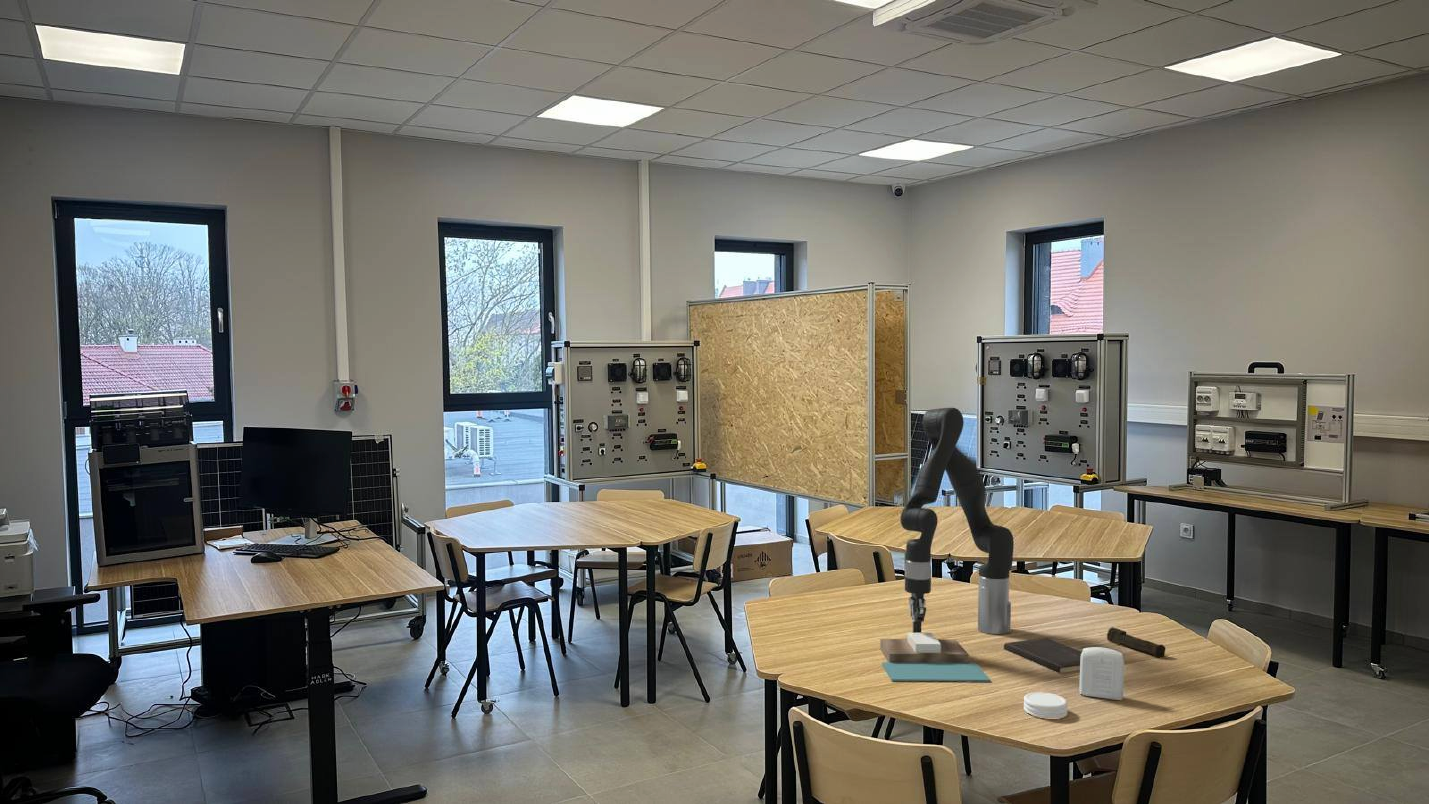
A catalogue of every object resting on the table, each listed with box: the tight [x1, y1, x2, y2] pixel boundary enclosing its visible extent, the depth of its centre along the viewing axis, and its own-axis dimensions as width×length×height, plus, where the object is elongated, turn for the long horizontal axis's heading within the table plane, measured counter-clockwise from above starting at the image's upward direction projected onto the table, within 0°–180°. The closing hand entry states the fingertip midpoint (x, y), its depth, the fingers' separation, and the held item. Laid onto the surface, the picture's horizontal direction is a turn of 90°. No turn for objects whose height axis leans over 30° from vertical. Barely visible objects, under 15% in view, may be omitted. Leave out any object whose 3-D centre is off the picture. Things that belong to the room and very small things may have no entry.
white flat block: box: [907, 632, 941, 653], centre depth 266 cm, size 7×11×2 cm, turn 0°
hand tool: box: [1106, 626, 1166, 659], centre depth 276 cm, size 19×4×5 cm, turn 24°
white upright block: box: [1078, 646, 1125, 701], centre depth 235 cm, size 10×4×12 cm, turn 69°
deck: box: [879, 638, 970, 663], centre depth 267 cm, size 22×14×3 cm, turn 90°
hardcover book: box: [1003, 637, 1083, 674], centre depth 267 cm, size 16×23×2 cm
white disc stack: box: [1023, 691, 1069, 719], centre depth 225 cm, size 10×10×4 cm
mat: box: [881, 661, 991, 683], centre depth 253 cm, size 26×14×1 cm, turn 90°
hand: (916, 634), depth 274 cm, fingers closed
